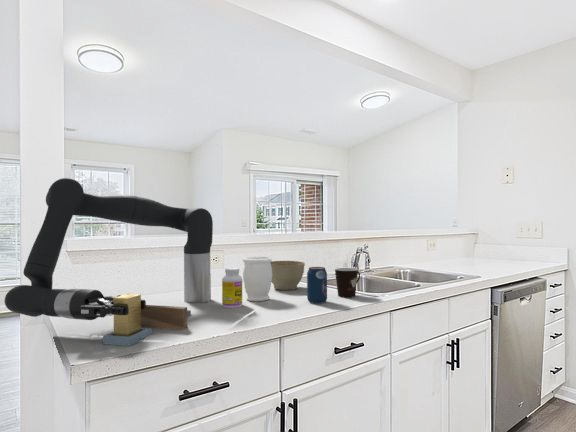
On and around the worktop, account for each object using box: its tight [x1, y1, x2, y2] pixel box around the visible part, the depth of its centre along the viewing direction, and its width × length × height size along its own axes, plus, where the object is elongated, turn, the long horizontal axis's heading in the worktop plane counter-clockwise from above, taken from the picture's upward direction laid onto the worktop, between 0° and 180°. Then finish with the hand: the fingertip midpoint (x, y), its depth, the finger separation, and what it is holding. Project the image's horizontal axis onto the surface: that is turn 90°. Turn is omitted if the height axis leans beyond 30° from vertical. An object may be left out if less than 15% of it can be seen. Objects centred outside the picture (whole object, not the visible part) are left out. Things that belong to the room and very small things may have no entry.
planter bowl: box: [270, 260, 306, 291], centre depth 167 cm, size 16×16×11 cm
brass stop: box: [113, 293, 142, 337], centre depth 98 cm, size 5×4×10 cm
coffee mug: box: [334, 267, 361, 299], centre depth 150 cm, size 12×9×10 cm
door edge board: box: [141, 304, 188, 331], centre depth 107 cm, size 2×20×6 cm, turn 75°
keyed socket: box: [102, 327, 153, 347], centre depth 98 cm, size 8×8×2 cm
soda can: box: [306, 266, 328, 305], centre depth 139 cm, size 7×7×12 cm
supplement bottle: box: [221, 267, 243, 309], centre depth 132 cm, size 7×7×13 cm
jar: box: [242, 256, 273, 302], centre depth 145 cm, size 11×10×15 cm
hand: (136, 307), depth 97 cm, fingers open, 6 cm apart
